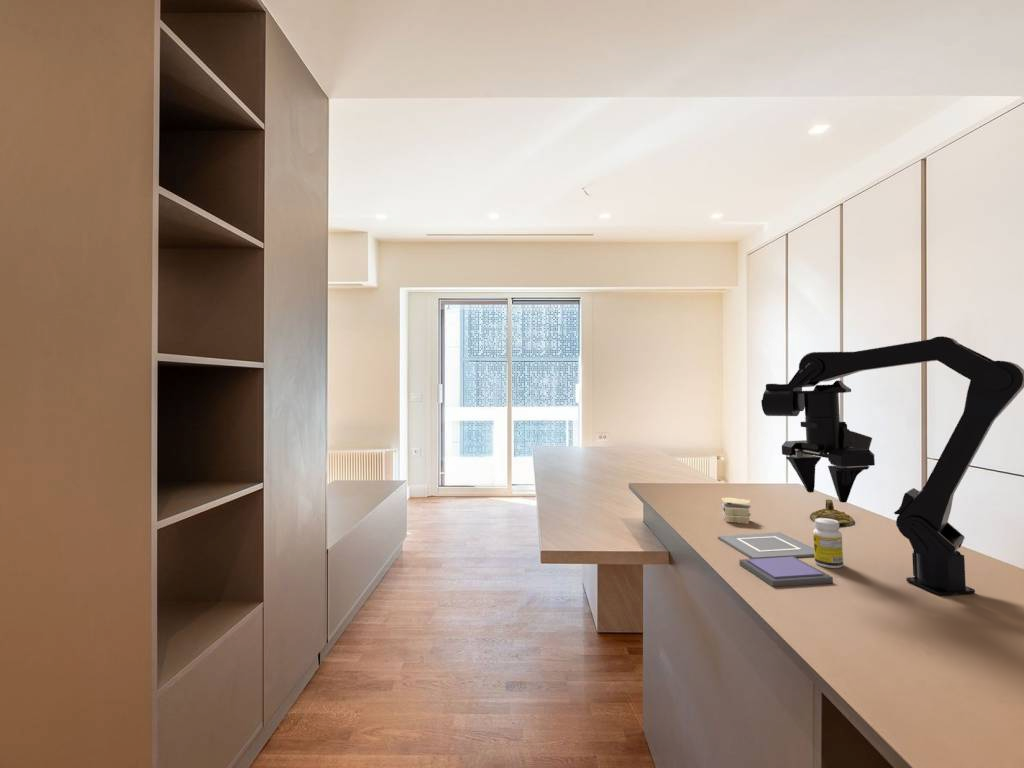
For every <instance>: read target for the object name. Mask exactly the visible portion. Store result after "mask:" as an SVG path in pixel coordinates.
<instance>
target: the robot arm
mask: <svg viewBox="0 0 1024 768" xmlns="http://www.w3.org/2000/svg"><path fill="white" fill-rule="evenodd" d="M936 361H938V362H939V363H941V364H943V365H945V366H946V367H947V368H949V369H951V370H953V371H954V372H956V373H957V374H960V376H963V377H965V378H967V379H968V380H970V381H969V384H968V388H967V392H966V396H965V397H966V398H965V402H964V409H963V413H962V414H961V416H960V418H959V421H957V424H956V426H955V428H954V429H953V432H952V433H951V435H950V437H949V439H948V441H947V442H946V444H945V447H944V448H943V450H942V452H941V454H940V457H938V460H937V462H936V464H935V465H934V467H933V470H932V471H931V473H930V475H929V477H928V478H927V481H926V482H925V484H924V486H923V487H922V488H921V489H920V490H918V489H916V488H915V487H913V488H911V489H910V490H908V491H907V492H904V495H903V497H902V500H901V504H900V507H898V509H897V510H895V511H894V512H893V514H894V515H897V517H896V520H895V523H896V527H897V528H898V532H899V533H900V534H902V536H903V537H904V538H906V539H907V540H908V542H909V543H910V546H911V548H912V549H913V551H912V553H911V555H912V557H911V558H912V575H913V576H911V577H910V576H909V577H906V579H905V581H906V582H909V583H910V584H912V585H916V586H917V587H920V588H923V589H924V590H927V591H929V592H931V593H933V594H935V595H939V596H948V595H949V596H950V595H963V594H974V593H976V589H975V588H972V587H970V586H967V583H966V563H965V555H964V554H961V552H960V551H958V550H959V549H960V548H961V546H962V545H963V542H964V541H965V536H964V534H962V533H961V532H960V531H959V530H958V529H956V528H955V527H954V526H953V525H951V524H950V523H949V518H950V515H951V511H952V505H953V501H954V500H953V499H954V496H955V493H956V491H957V489H958V488H959V486H960V484H961V482H962V480H963V478H964V477H965V476H966V475H965V474H966V473H967V471H968V469H969V467H970V466H971V463H972V462H973V459H974V458H975V456H976V455H977V453H978V451H979V449H980V447H981V445H982V444H983V442H984V440H985V438H986V436H987V435H988V433H989V431H990V429H991V428H992V425H993V424H994V422H995V421H996V419H998V417H999V416H1000V415H1001V414H1002V413H1003V412H1004V411H1005V409H1007V407H1008V406H1009V405H1010V404H1011V403H1012V402H1013V401H1014V400H1015V398H1016V397H1017V396H1018V395H1019V394H1020V393H1021V392H1022V390H1023V389H1024V368H1023V367H1021V366H1020V365H1018V364H1017V363H1015V362H1011V361H1005V360H993V359H991V358H990V357H987V356H986V355H983V354H982V353H980V352H977V351H975V350H973V349H972V348H969V347H967V346H966V345H963V344H961V343H959V342H958V340H956V339H954V338H951V337H948V336H942V335H941V336H935V337H932V338H930V339H924V340H919V341H913V342H907V343H906V342H905V343H900V344H894V345H887V346H881V347H876V348H869V349H863V350H857V351H813V352H808V353H806V354H805V355H803V357H802V358H801V359H800V360H799V363H798V370H797V371H796V372H795V374H794V375H793V376H792V378H791V379H790V380H789V382H788V383H784V384H783V383H782V384H781V383H766V384H765V389H764V391H763V395H762V399H761V400H760V402H761V409H762V412H763V414H764V415H765V416H766V417H798V416H799V414H800V412H803V411H804V415H805V416H804V419H805V421H800V427H801V428H805V437H806V438H805V439H806V440H803V439H802V440H788V441H787V440H785V441H784V442H783V443H782V445H781V454H782V455H784V456H785V459H786V460H788V462H789V463H790V464H791V465H790V466H792V467H793V469H794V471H795V472H796V474H797V476H798V477H799V479H800V481H801V483H802V484H803V486H804V488H805V490H806V491H807V493H814V492H815V486H816V485H815V483H816V481H815V480H816V465H817V464H818V463H819V462H820V461H821V459H822V458H826V459H827V460H828V462H829V463H830V464H831V465H828V466H827V468H828V471H829V474H830V478H831V481H832V483H833V486H834V490H835V493H836V495H837V496H836V497H837V498H838V501H839V502H840V503H847V502H848V499H849V497H850V493H851V492H852V491H851V490H852V489H853V485H854V483H855V480H856V479H857V476H858V475H860V474H861V473H862V472H863V471H864V470H868V469H870V467H871V466H872V467H873V466H875V464H876V462H875V461H876V460H875V454H874V453H873V452H872V451H871V450H870V447H871V444H872V441H873V437H871V436H869V435H866V434H862V433H860V432H859V433H858V432H856V431H852V430H850V429H849V428H848V424H847V422H846V421H841V417H840V415H841V413H840V400H839V399H840V398H839V394H842V393H843V394H845V393H851V392H852V389H851V387H849V386H847V385H846V384H844V382H843V381H842V380H838V379H841V378H844V377H848V376H850V375H853V374H856V373H860V372H864V371H869V370H870V371H871V370H877V369H883V368H884V369H886V368H892V367H900V366H906V365H913V364H921V363H922V364H923V363H928V362H936ZM833 380H835V381H834V382H833V383H832V384H820V383H821V382H831V381H833ZM812 387H814V388H813V390H803V388H812Z"/></svg>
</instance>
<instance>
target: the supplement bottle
mask: <svg viewBox="0 0 1024 768" xmlns="http://www.w3.org/2000/svg"><path fill="white" fill-rule="evenodd" d="M814 527H815V528H814V529H813V531H812V534H813V548H814V556H813V557H814V559H813V560H814V563H815V564H816V565H818V566H820V567H823V568H828V569H829V568H831V569H839V568H842V567H844V555H843V553H844V552H843V550H844V549H843V535H842V532H841V531H840V526H839V522H838V521H837V520H833V519H827V518H818V519H815V522H814Z"/></svg>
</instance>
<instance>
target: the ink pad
mask: <svg viewBox="0 0 1024 768" xmlns="http://www.w3.org/2000/svg"><path fill="white" fill-rule="evenodd" d="M738 561H739V563H738V564H739V566H741V567H742V568H744V569H745V570H747V571H748V572H750V573H751V574H753V575H754V576H756V577H757V578H759V579H760V580H762V581H763V582H765V583H766V584H768V585H770V586H771V587H773V588H774V587H775V588H776V587H788V586H790V587H791V586H805V585H818V584H819V585H820V584H833V583H834V578H833V576H831V575H830V574H827V573H826V572H824V571H822V570H820V569H818V568H816V567H814V566H812V565H810V564H808V563H806V562H805V561H803V560H802V559H799V558H798V557H796V558H795V557H793V556H791V557H775V558H758V559H751V558H745V559H739V560H738Z"/></svg>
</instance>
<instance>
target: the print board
mask: <svg viewBox="0 0 1024 768" xmlns="http://www.w3.org/2000/svg"><path fill="white" fill-rule="evenodd" d="M717 539H718V540H720V541H721V542H723V543H724V544H727V545H728V546H730V547H731V548H733V549H735V550H737V551H738V552H739V553H741V554H743V555H745V556H746V557H748V559H758V558H775V557H791V556H793V557H795V558H811V557H814V547H812V546H810V545H808V544H806V543H804V542H802V541H799V540H797V539H795V538H793V537H791V536H789V535H787V534H785V533H782V532H781V531H780V532H762V533H761V532H760V533H748V534H747V533H746V534H745V533H744V534H730V535H729V534H728V535H727V534H726V535H717Z"/></svg>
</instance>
